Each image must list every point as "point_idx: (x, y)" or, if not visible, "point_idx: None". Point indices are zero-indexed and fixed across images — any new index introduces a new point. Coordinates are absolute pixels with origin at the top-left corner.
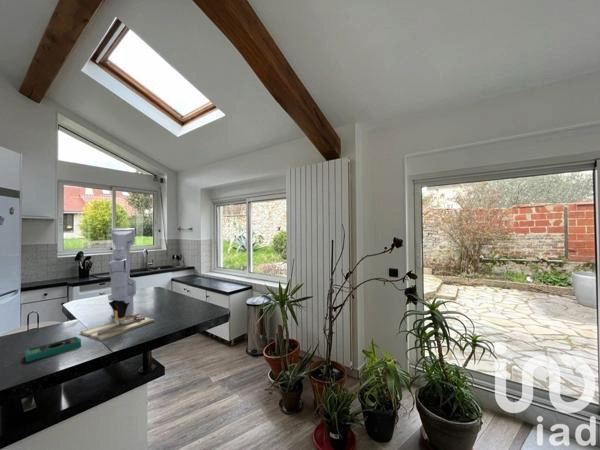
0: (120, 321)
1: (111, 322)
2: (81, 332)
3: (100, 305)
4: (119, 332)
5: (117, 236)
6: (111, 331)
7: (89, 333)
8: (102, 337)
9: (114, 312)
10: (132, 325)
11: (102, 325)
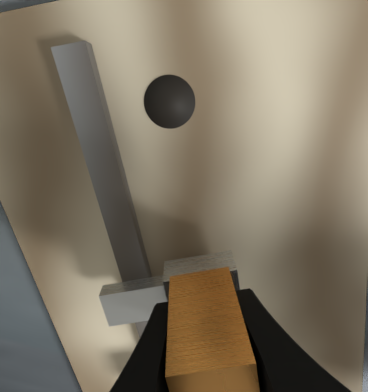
0: (158, 283)
1: (344, 238)
2: None
3: None
4: (8, 202)
5: None
6: (66, 162)
7: None
8: None
9: (257, 330)
10: (85, 313)
11: (341, 161)
